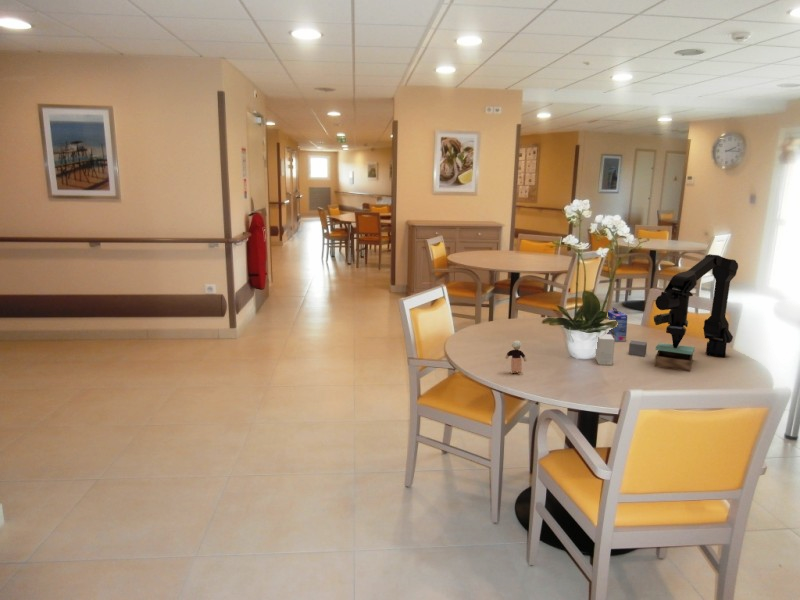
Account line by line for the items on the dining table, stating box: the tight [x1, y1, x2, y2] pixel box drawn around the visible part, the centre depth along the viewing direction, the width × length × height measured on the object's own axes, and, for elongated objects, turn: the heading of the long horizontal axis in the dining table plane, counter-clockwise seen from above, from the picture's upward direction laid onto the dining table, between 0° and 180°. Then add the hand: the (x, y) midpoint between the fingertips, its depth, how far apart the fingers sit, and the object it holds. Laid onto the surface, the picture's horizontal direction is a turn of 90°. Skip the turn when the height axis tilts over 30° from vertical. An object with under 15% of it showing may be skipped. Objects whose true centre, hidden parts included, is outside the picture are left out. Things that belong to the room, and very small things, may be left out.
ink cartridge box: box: [607, 307, 628, 342], centre depth 241 cm, size 10×6×14 cm, turn 5°
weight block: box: [628, 340, 648, 358], centre depth 219 cm, size 6×5×5 cm
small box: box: [594, 333, 615, 366], centre depth 209 cm, size 8×6×10 cm
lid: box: [655, 342, 695, 356], centre depth 207 cm, size 13×16×1 cm
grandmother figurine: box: [504, 340, 527, 375], centre depth 197 cm, size 8×4×13 cm, turn 80°
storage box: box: [654, 350, 694, 372], centre depth 208 cm, size 12×16×4 cm
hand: (675, 347), depth 204 cm, fingers closed, pressing on lid
